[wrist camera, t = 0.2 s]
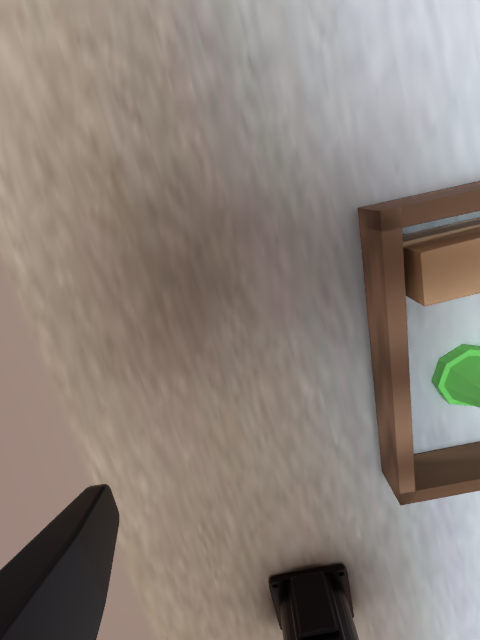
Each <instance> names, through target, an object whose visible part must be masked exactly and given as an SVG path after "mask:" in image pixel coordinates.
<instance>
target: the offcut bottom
mask: <svg viewBox="0 0 480 640" xmlns="http://www.w3.org/2000/svg"><path fill="white" fill-rule="evenodd" d="M477 227H480V217H479V218H475V219H470V220H466V221H462V222H457V223H453V224H449V225H445V226H440V227H436V228H432V229H427V230H423V231H419V232H415V233H410V234H406V235H402V236H403V246H406V245H410V244H414V243H418V242H422V241H426V240H430V239H434V238H438V237H442V236H445V235H449V234H453V233H457V232H461V231H465V230H469V229H473V228H477ZM405 295H406V291H405Z"/></svg>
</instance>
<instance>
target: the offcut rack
mask: <svg viewBox="0 0 480 640" xmlns="http://www.w3.org/2000/svg"><path fill="white" fill-rule="evenodd" d="M476 211H480V181H478V182H473V183H469V184H464V185H460V186H455V187H451V188H446V189H442V190H437V191H433V192H428V193H424V194H419V195H415V196H410V197H406V198H401V199H396V200H392V201H387V202H383V203H378V204H374V205H369V206H365V207H360V208H358V212H359V223H360V234H361V245H362V256H363V267H364V278H365V289H366V300H367V311H368V322H369V333H370V344H371V356H372V367H373V378H374V389H375V400H376V411H377V422H378V433H379V444H380V455H381V466H382V472H383V474H384V476H385V478H386V480H387V481H388V483H389V485H390V487H391V489H392V491H393V492H394V494H395V496H396V498H397V500H398V501H399V503H400V505H405V504H410V503H416V502H421V501H426V500H432V499H437V498H442V497H448V496H453V495H458V494H464V493H469V492H474V491H480V442H477V443H471V444H466V445H461V446H456V447H451V448H446V449H440V450H435V451H430V452H425V453H420V454H414V455H413V437H412V417H411V397H410V377H409V357H408V336H407V316H406V296H405V276H404V256H403V236H402V228H403V227H407V226H412V225H416V224H421V223H425V222H430V221H435V220H439V219H444V218H448V217H453V216H458V215H462V214H467V213H471V212H476Z"/></svg>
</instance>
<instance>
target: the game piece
mask: <svg viewBox="0 0 480 640" xmlns="http://www.w3.org/2000/svg"><path fill="white" fill-rule="evenodd" d="M432 382H433V384H434V385H435V387H436V388H437V390H438V391H439V393H440V394H441V396H442V397H443V398H444V399H445V400H446V401H447V402H448V403H449V404H458V405H469V406H476V407H480V346H472V345H463V344H462V345H461V346H459V347H457V348H456V349H454V350H453V351H451V352H450V353H448V354H446V355H445V356H443V357H442V358H440V359H439V361H438V364H437V367H436V370H435V373H434V376H433V379H432Z"/></svg>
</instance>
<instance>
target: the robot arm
mask: <svg viewBox="0 0 480 640" xmlns="http://www.w3.org/2000/svg"><path fill="white" fill-rule="evenodd" d="M118 527H119V511H118V508H117V505H116V503H115V500H114V497H113V494H112V491H111V489H110V487H109V486H108V485H107V484H101V485H94V486H90V487H88V488H86V489H85V490H84V491H83V492H82V493H81V494H80V495H79V496H78V497H77V498H76V499H74V500H73V501H72V502H71V503H70V504H69V505H68V506H67V507H66V508H65V509H64V510H63V511H62V512H61V513H60V514H59V515H58V516H57V517H56V518H55V519H54V520H52V521H51V522H50V523H49V524H48V525H47V526H46V527H45V528H44V529H43V530H42V531H41V532H40V533H39V534H38V535H37V536H36V537H35V538H34V539H33V540H31V541H30V542H29V543H28V544H27V545H26V546H25V547H24V548H23V549H22V550H21V551H20V552H19V553H18V554H17V555H16V556H15V557H14V558H13V559H12V560H10V562H8V563H7V564H6V565H5V566H4V567H3V568H2V569H1V570H0V640H96V638H97V634H98V630H99V626H100V623H101V619H102V615H103V611H104V607H105V603H106V597H107V592H108V587H109V581H110V575H111V569H112V562H113V556H114V551H115V545H116V539H117V533H118ZM269 588H270V592H271V596H272V599H273V603H274V607H275V610H276V614H277V618H278V621H279V625H280V629H281V630H282V631H283V638H284V640H359V638H358V635H357V631H356V628H355V625H354V621H353V617H354V613H353V607H352V600H351V594H350V587H349V581H348V574H347V570H346V568H345V566H344V565H336V566H331V567H325V568H320V569H314V570H309V571H303V572H298V573H292V574H287V575H281V576H276V577H272V578H270V579H269Z"/></svg>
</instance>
